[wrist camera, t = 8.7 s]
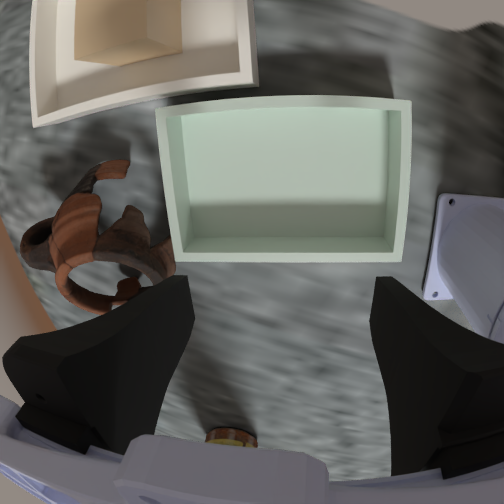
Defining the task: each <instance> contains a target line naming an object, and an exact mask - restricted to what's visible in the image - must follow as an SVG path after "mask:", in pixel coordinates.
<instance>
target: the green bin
mask: <svg viewBox="0 0 504 504" xmlns="http://www.w3.org/2000/svg"><path fill="white" fill-rule="evenodd" d="M155 113H156V124H157V134H158V144H159V153H160V161H161V170H162V178H163V185H164V193H165V200H166V207H167V213H168V220H169V227H170V233H171V239H172V245H173V251H174V257H175V262H401V260H402V253H403V246H404V238H405V230H406V221H407V211H408V200H409V187H410V170H411V139H412V113H411V101H408V100H399V99H388V98H376V97H360V96H335V95H288V96H263V97H247V98H234V99H223V100H213V101H204V102H196V103H188V104H181V105H174V106H168V107H162V108H156V109H155Z"/></svg>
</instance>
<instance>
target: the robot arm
mask: <svg viewBox="0 0 504 504" xmlns="http://www.w3.org/2000/svg"><path fill="white" fill-rule="evenodd" d="M450 199H453V202H452V204H449V200H450ZM434 292H436V294H434V295H432V294H433V293H434ZM422 295H423V297H424V299H425V300H443V299H454V300H455V301H456V303H457V304H458V306H459V307H460V309H461V310H462V312H463V313H464V315H465V316H466V318H467V320H468V321H469V323H470V324H471V326H472V328H473V329H474V331H475V332H476V333H475V332H472V331H470V330H468V329H466V328H464V327H462V326H460V325H459V324H457V323H455V322H454V321H452V320H450V319H448V318H447V317H445V316H444V315H442V314H441V313H439V312H438V311H436V310H435V309H433V308H432V307H431V306H429V305H428V304H427V303H425V302H424V301H423V300H421V299H420V298H419V297H417V296H416V295H415V294H414V293H412V292H411V291H410V290H409V289H407V288H406V287H405V286H404V285H402V284H401V283H400V282H399V281H397V280H396V279H395V278H393V277H391V276H390V277H376V282H375V289H374V296H373V302H372V308H371V314H370V320H369V322H370V329H371V336H372V342H373V346H374V350H375V353H376V357H377V360H378V364H379V368H380V371H381V375H382V379H383V382H384V386H385V390H386V395H387V402H388V411H389V420H390V434H391V477H383V478H374V479H363V480H351V481H331V482H329V472H328V470H327V467H326V464H325V463H324V462H322V461H321V460H319V459H316V458H314V457H312V456H310V455H308V454H306V453H303V452H295V451H288V450H282V449H267V448H252V447H240V446H230V445H222V444H214V443H206V442H199V441H193V440H187V439H181V438H175V437H170V436H164V435H154V432H155V428H156V424H157V420H158V417H159V413H160V409H161V406H162V403H163V399H164V396H165V393H166V390H167V387H168V385H169V382H170V380H171V377H172V375H173V373H174V371H175V369H176V367H177V365H178V362H179V360H180V358H181V356H182V354H183V352H184V349H185V347H186V345H187V343H188V340H189V338H190V335H191V331H192V328H193V324H194V321H195V315H194V310H193V305H192V299H191V294H190V288H189V283H188V277H187V276H185V275H172V276H170V277H168V278H166V279H164V280H163V281H161V282H159V283H158V284H156V285H154V286H153V287H151V288H150V289H148V290H146V291H145V292H143V293H142V294H140V295H138V296H137V297H135V298H133V299H131V300H130V301H128V302H126V303H124V304H123V305H121V306H119V307H117V308H115V309H113V310H111V311H109V312H107V313H105V314H103V315H101V316H98V317H96V318H94V319H91V320H88V321H86V322H83V323H80V324H77V325H74V326H71V327H68V328H64V329H61V330H57V331H53V332H48V333H43V334H37V335H31V336H24V337H20V338H19V339H18V340H17V341H16V342H15V343H14V344H13V345H12V346H11V347H10V348H9V350H7V352H6V353H5V354H4V356H3V357H2V358H3V367H4V369H5V372H6V374H7V376H8V377H9V379H10V381H11V382H12V383H13V385H14V387H15V388H16V390H17V391H18V393H19V394H20V396H21V397H22V399H23V400H24V402H25V403H24V405H23V406H22V407H19V406H18V405H17V404H16V403H14V402H13V401H11V400H9V399H7V398H5V397H3V396H1V395H0V472H1V473H2V474H3V475H4V476H5V477H7V478H8V479H10V480H11V481H13V482H14V483H15V484H17V485H18V486H20V487H22V488H23V489H25V490H26V491H28V492H29V493H31V494H32V495H34V496H36V497H37V498H39V499H40V500H42V501H44V502H45V503H47V504H504V198H497V197H487V196H475V195H463V194H449V193H443V194H441V195H440V196H439V197H438V201H437V210H436V218H435V225H434V232H433V239H432V245H431V251H430V257H429V263H428V268H427V273H426V278H425V283H424V288H423V292H422Z"/></svg>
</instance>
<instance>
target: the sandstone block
mask: <svg viewBox="0 0 504 504" xmlns="http://www.w3.org/2000/svg"><path fill="white" fill-rule="evenodd" d="M179 53H182V27H181V0H76V5H75V26H74V60H77V61H86V62H94V63H101V64H107V65H114V66H124V65H128V64H132V63H136V62H140V61H145V60H149V59H154V58H158V57H163V56H168V55H174V54H179Z"/></svg>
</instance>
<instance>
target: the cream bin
mask: <svg viewBox="0 0 504 504" xmlns="http://www.w3.org/2000/svg"><path fill="white" fill-rule="evenodd" d="M75 5H76V0H33V1H32V12H31V25H30V51H29V70H30V97H31V111H32V122H33V128H35V127H40V126H46V125H51V124H57V123H61V122H64V121H68V120H71V119H75V118H78V117H82V116H85V115H89V114H93V113H96V112H100V111H104V110H108V109H112V108H117V107H121V106H126V105H130V104H135V103H140V102H145V101H150V100H155V99H161V98H167V97H173V96H179V95H186V94H193V93H200V92H209V91H217V90H227V89H238V88H251V87H259V74H258V59H257V45H256V31H255V18H254V4H253V0H181V27H182V53H179V54H174V55H168V56H163V57H158V58H154V59H149V60H145V61H140V62H136V63H132V64H128V65H124V66H114V65H107V64H101V63H94V62H86V61H77V60H74V26H75Z"/></svg>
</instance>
